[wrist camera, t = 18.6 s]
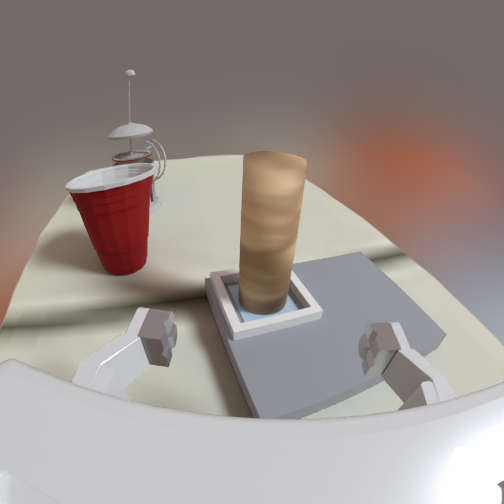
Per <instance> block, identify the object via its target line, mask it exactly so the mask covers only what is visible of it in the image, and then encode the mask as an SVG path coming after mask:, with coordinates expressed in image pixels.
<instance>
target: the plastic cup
mask: <svg viewBox="0 0 504 504" xmlns="http://www.w3.org/2000/svg"><path fill="white" fill-rule="evenodd" d="M156 170H157V166H156V165H154V164H150V163H133V164H124V165H117V166H112V167H108V168H103V169H99V170H96V171H93V172H89V173H86V174H84V175H81V176H79V177H77V178H74V179H73V180H71V181H70V182H68V183H67V184H66V187H65V188H66V190H67V191H69V193H70V194H71V196H72V197H73V200H74V202H75V203H76V206H77V209H78V211H79V212H80V215H81V217H82V220H83V222H84V225H85V227H86V230H87V232H88V235H89V237H90V239H91V242H92V244H93V246H94V249H95V250H96V251H97V253H98V256H99V258H100V260H101V262H102V265H103V266H104V267H105V269H106V271H108V272H109V273H110V274H113V275H128V274H131V273H134V272H136V271H138V270H139V269H141V268H142V267H143V266H144V265H145V263H146V257H147V238H148V231H149V209H150V194H151V188H152V184H153V177H154V173H155V171H156Z"/></svg>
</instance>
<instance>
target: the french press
mask: <svg viewBox="0 0 504 504" xmlns="http://www.w3.org/2000/svg"><path fill="white" fill-rule="evenodd" d="M131 76H135V72H134V71H133V70H128V71H126V72H125V74H124V77H129V123H128V124H127V125H124V126H121V127H119V128H117V129H116V130H114V131H112V132H111V133H110V135H109V136H108V139H110V140H119V139H129V138H130V149H131V151H130V152H127V153H126V152H124V153H120V154H117V155H115V156H113V158H112V160H113V161H115V162H117V163H115V164H113V165H112V166H117V165H124V164H133V163H150V164H154V160H152V159H150V158H147V157H149V156H150V155H151V152H150V151H145V150H143V151H132V146H131V138H135V137H141V136H145V135H148V134H151V133H152V131H153V129H151V128H149V127H148V126H146V125H142V124H133V123H130V77H131ZM152 141H154V142H156V143H157V144H158V145H159V146H160V147H161V149H162V151H163V153H164V162H165V164H164V170H163V172H162V174H161V175H160V177H161V176H162V175H163V174H164V171H165V168H166V155H165V152H164V150H163V147H162V146H161V145H160V144H159V143H158V142H157V141H155V140H154V139H152V140H151V141H150V142H148V141H146V142H145V148H146V149H149V148H150V147H151V146H153V148H154V149H155V150H156V152H157V149H156V148H155V147H154V145H153V144H152ZM146 143H149V144H150V147H148V148H147V147H146ZM157 154H158V157H159V171H158V174H157V177H156V178H154V177H153V184H152V188H151V194H150V209H149V213H151V212H153V211H155V210H157V209H158V208H159V207H160V206H161V205H162V201H161V200H160V199H158V198H157V197H156V191H155V180H157V179H159V178H160V177H158V176H159V173H160V168H161V164H160V156H159V153H158V152H157ZM112 166H111V167H112Z"/></svg>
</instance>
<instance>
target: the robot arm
mask: <svg viewBox="0 0 504 504" xmlns="http://www.w3.org/2000/svg"><path fill="white" fill-rule="evenodd" d="M174 319H175V317H174V313H173V312H170V311H163V310H157V309H149V308H143V307H139V308H138V309H137V310H136V312H135V315H134V317H133V319H132V321H131V323H130V325H129V327H128V329H127V331H126V333H125V334H121V335H120V336H118V337H116V338H115V339H113V340H112V341H110V342H109V343H107V344H106V345H104V346H103V347H101V348H100V349H98V350H97V351H95V352H94V353H92V354H91V355H89V356H88V357H86V358H85V359H83V360H82V362H81V364H80V366H79V368H78V370H77V372H76V374H75V376H74V378H73V380H72V382H69V381H66V380H63V379H61V378H58V377H56V376H53V375H50V374H48V373H45V372H43V371H41V370H38V369H36V368H34V367H31V366H29V365H27V364H25V363H23V362H20V361H18V360H16V359H8V360H6V361H4V362H2V363H1V364H0V504H504V382H502V383H499V384H496V385H494V386H491V387H488V388H485V389H482V390H479V391H476V392H473V393H470V394H467V395H463V396H460V397H456V398H455V396H454V393H453V391H452V388H451V385H450V383H449V380H448V378H447V376H445V375H444V374H443V373H442V372H441V371H440V370H438V369H437V368H436V367H435V366H434V365H432V364H431V363H430V362H429V361H428V360H426V359H425V358H424V357H423V356H422V355H420V354H419V353H418V352H417V351H415V350H414V349H411V348H410V346H409V343H408V341H407V339H406V336H405V334H404V332H403V329H402V327H401V325H400V323H399V322H388V323H387V322H383V323H368V324H367V325H366V326H365V328H364V330H365V333H364V334H363V335H362V336H361V337H360V340H359V343H358V352H359V356H360V357H361V358H362V359H363V360H364V361H363V362H362V368H363V372H364V376H380V375H382V376H381V377H382V378H383V379H384V380H385V381H386V382H387V384H388V385H389V386H390V387H391V388H392V389H393V391H394V392H395V393H396V394H397V395H398V396H399V398H400V399H401V400H402V401H403V402H404V404H403V405H402V406H401V407H400V408H399V409H398V410H397V411H392V412H385V413H378V414H370V415H361V416H351V417H339V418H323V419H260V418H243V417H230V416H220V415H211V414H203V413H195V412H189V411H182V410H176V409H170V408H165V407H160V406H155V405H150V404H146V403H141V402H137V401H133V400H130V399H129V398H128V396H127V394H126V393H125V391H124V389H125V388H126V387H127V386H128V385H130V384H131V383H132V382H133V381H134V380H135V379H136V378H137V377H138V376H139V375H140V374H141V373H142V372H144V371H145V370H146V369H147V368H148V367H149V366H150V364H151V365H157V366H164V367H169V365H170V361H171V358H172V351H171V349H172V348H174V347H175V344H176V340H177V327H176V325H175V324H174V323H173V322H174Z"/></svg>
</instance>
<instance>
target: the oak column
mask: <svg viewBox="0 0 504 504" xmlns="http://www.w3.org/2000/svg"><path fill="white" fill-rule="evenodd" d="M306 166H307V161H306V160H305V159H303V158H301V157H299V156H295V155H292V154H288V153H281V152H270V151H260V152H251V153H248V154H245V155H244V159H243V183H242V208H241V235H240V265H239V298H238V299H239V303H240V304H241V306H242V307H243V308H244V309H245V310H247V311H249V312H251V313H253V314H257V315H271V314H275V313H277V312H279V311H281V310H282V309H283V308H284V307H285V305H286V301H287V296H288V290H289V284H290V278H291V272H292V266H293V259H294V253H295V247H296V240H297V233H298V226H299V220H300V212H301V205H302V198H303V190H304V182H305V174H306Z"/></svg>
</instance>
